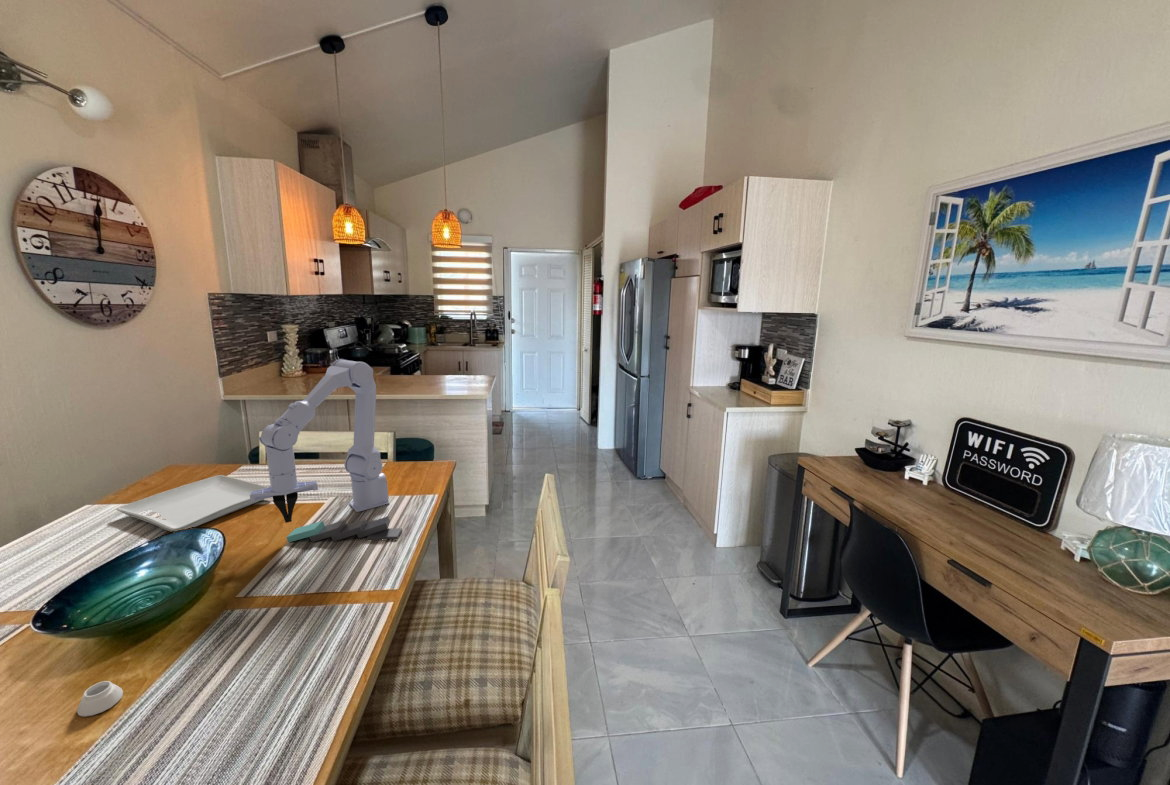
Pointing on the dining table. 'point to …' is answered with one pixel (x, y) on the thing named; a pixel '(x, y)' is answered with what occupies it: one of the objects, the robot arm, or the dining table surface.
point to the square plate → (194, 502)
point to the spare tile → (305, 531)
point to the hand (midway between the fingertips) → (288, 520)
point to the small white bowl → (99, 698)
